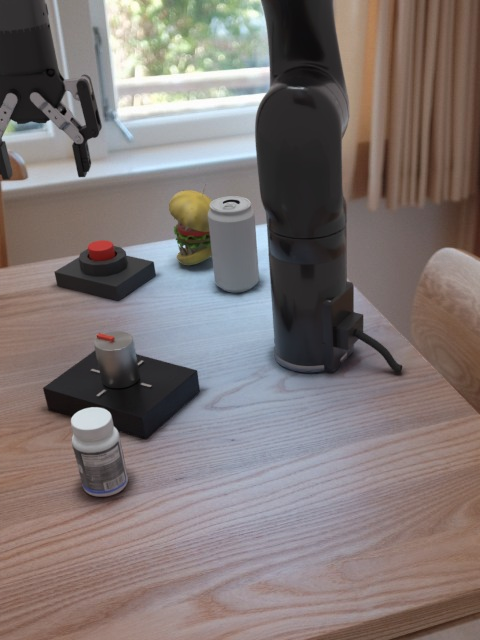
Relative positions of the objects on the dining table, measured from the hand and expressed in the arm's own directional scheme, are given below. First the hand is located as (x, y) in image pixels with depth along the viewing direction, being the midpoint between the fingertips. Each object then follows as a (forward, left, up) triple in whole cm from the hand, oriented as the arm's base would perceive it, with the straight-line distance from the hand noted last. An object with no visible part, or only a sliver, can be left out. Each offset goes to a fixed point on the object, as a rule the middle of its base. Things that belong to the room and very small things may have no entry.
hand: (45, 176), depth 104 cm
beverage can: (-9, -23, -22) cm, 34 cm away
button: (+9, -17, -18) cm, 26 cm away
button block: (+9, -16, -22) cm, 29 cm away
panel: (-13, +9, -22) cm, 27 cm away
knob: (-13, +9, -19) cm, 24 cm away
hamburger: (0, -27, -22) cm, 35 cm away
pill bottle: (-21, +23, -22) cm, 38 cm away
